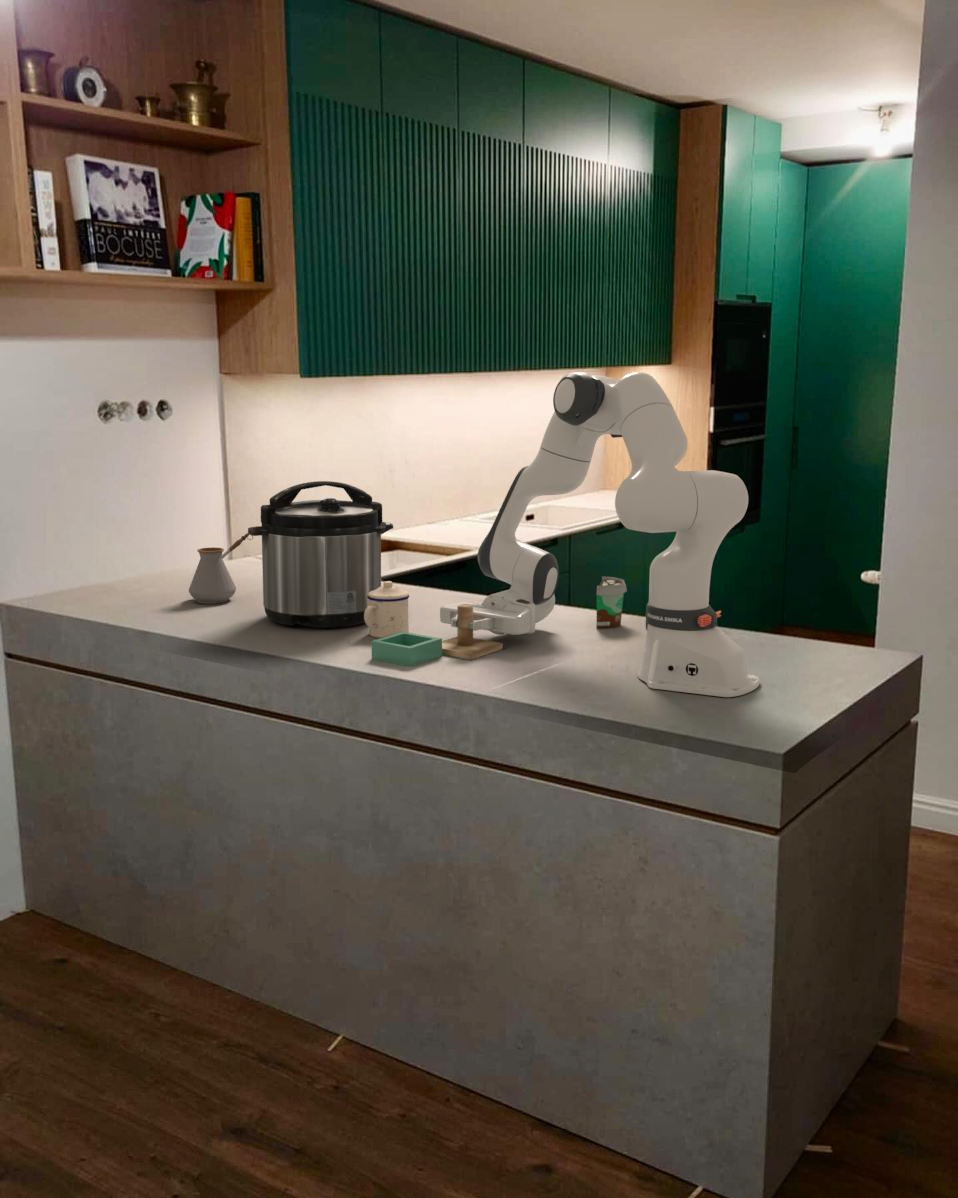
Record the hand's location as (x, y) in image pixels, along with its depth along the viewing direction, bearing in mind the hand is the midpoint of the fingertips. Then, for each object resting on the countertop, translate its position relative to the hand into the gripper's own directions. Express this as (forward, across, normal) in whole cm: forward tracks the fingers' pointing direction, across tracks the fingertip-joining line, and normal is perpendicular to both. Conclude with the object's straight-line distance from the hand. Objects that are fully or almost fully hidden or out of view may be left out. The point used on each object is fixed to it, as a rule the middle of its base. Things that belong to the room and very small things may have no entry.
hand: (462, 624), depth 242 cm
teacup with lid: (-2, -23, +6) cm, 24 cm away
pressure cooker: (-7, -46, +6) cm, 47 cm away
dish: (+11, -6, +6) cm, 14 cm away
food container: (-40, +12, +6) cm, 43 cm away
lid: (-1, 0, +6) cm, 6 cm away
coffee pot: (-10, -82, +6) cm, 83 cm away
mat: (-1, 0, +6) cm, 6 cm away
